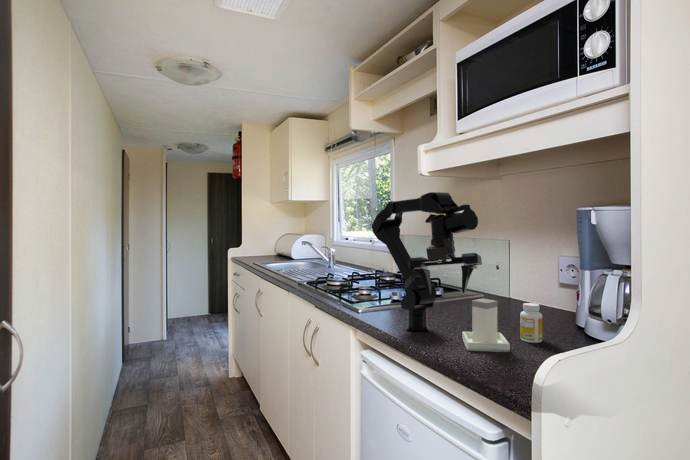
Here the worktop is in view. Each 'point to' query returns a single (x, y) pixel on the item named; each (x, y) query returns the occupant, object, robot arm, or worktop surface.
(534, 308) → the supplement bottle
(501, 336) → the tray
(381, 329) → the worktop surface
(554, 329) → the worktop surface
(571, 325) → the worktop surface
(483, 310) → the block
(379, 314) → the worktop surface
